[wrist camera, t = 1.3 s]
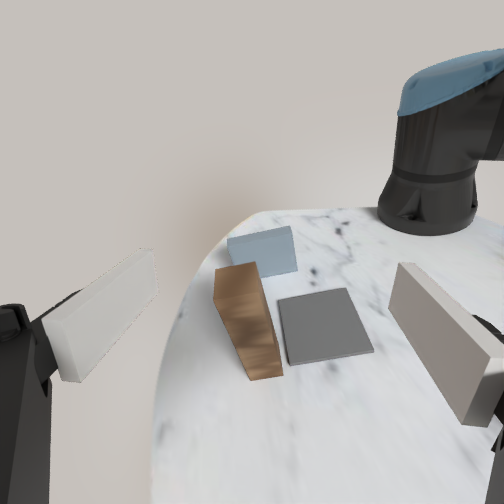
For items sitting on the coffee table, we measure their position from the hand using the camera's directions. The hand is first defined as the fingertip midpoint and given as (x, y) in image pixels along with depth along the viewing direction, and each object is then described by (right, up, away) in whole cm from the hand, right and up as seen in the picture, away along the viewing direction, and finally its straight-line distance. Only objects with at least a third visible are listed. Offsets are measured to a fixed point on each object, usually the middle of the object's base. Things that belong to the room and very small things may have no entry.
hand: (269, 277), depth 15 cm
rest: (+8, -8, +22) cm, 25 cm away
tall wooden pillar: (+1, -13, +19) cm, 23 cm away
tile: (+2, -2, +31) cm, 32 cm away
